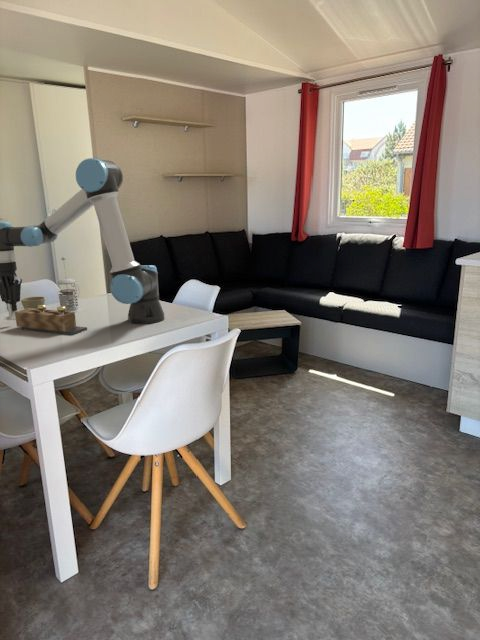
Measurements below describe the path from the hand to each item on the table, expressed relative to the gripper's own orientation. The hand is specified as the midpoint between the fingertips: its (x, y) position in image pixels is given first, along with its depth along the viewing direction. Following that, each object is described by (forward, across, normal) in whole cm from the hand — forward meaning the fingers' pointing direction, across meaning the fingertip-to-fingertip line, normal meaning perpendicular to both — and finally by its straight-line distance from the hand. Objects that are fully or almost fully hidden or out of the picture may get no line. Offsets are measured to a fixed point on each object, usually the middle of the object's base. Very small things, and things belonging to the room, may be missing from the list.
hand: (13, 318), depth 192 cm
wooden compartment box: (+2, -17, 0) cm, 17 cm away
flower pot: (+3, +8, -19) cm, 21 cm away
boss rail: (+3, -21, 0) cm, 21 cm away
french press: (+3, -4, -29) cm, 29 cm away
